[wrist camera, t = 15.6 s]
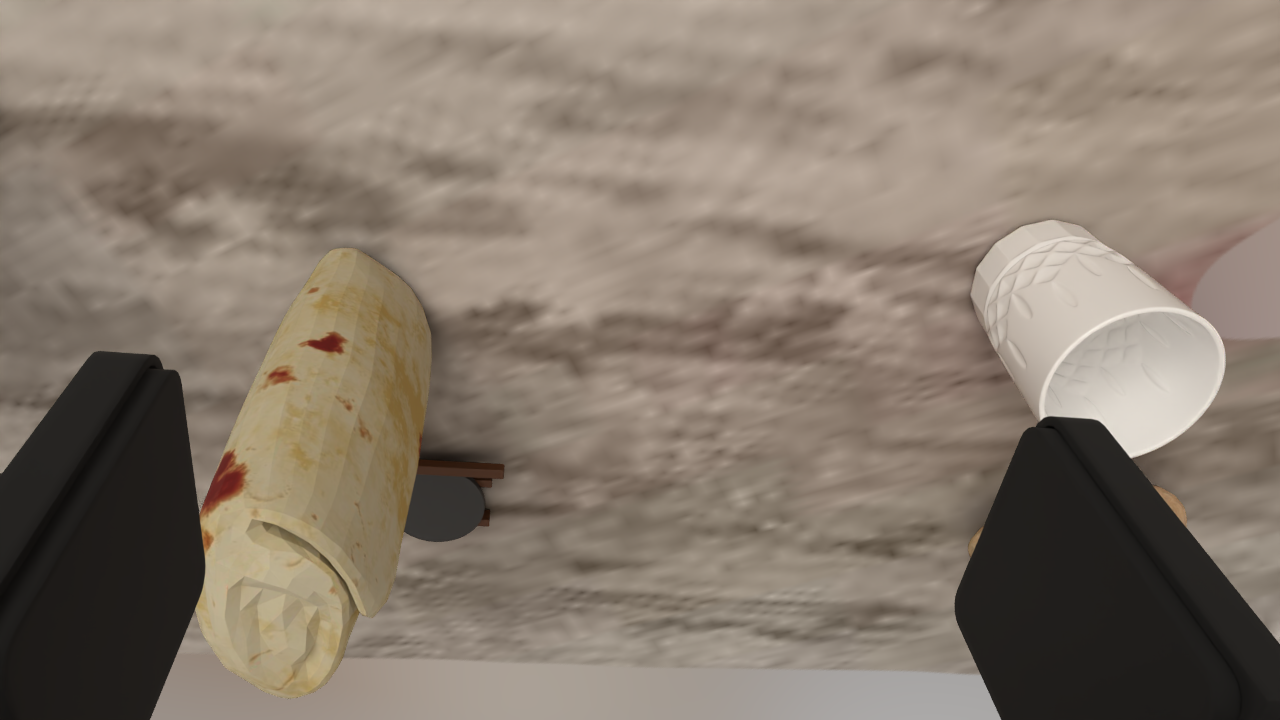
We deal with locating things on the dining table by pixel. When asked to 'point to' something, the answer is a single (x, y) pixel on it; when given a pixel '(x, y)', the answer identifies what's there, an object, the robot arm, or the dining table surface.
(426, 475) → the sunglasses
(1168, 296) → the white cup
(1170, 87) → the dining table surface
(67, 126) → the dining table surface
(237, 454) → the food model
